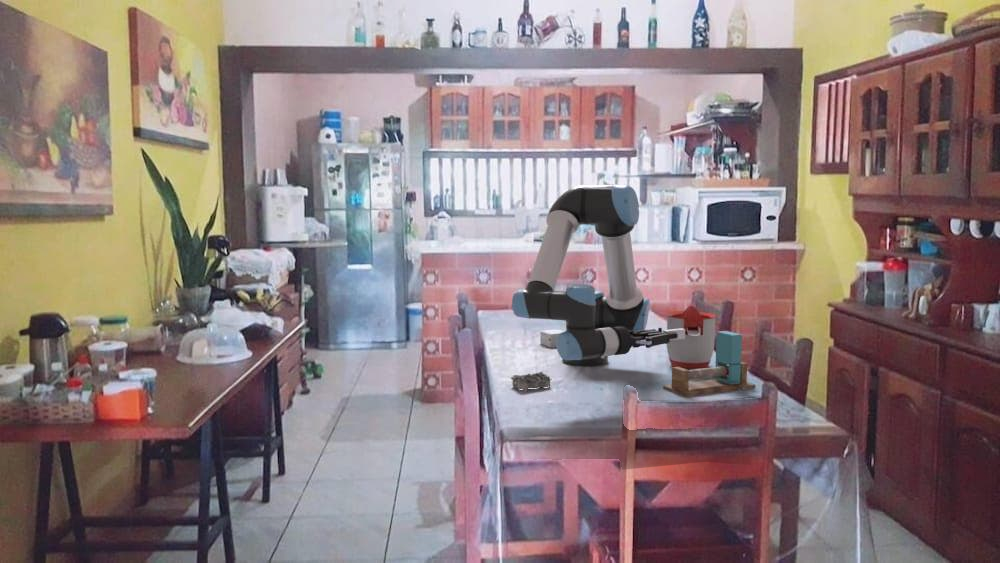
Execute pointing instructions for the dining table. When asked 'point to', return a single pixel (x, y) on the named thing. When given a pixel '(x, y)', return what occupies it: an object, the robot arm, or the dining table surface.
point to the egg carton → (531, 381)
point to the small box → (549, 337)
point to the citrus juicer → (691, 338)
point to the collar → (729, 355)
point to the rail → (708, 386)
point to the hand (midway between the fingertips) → (683, 333)
